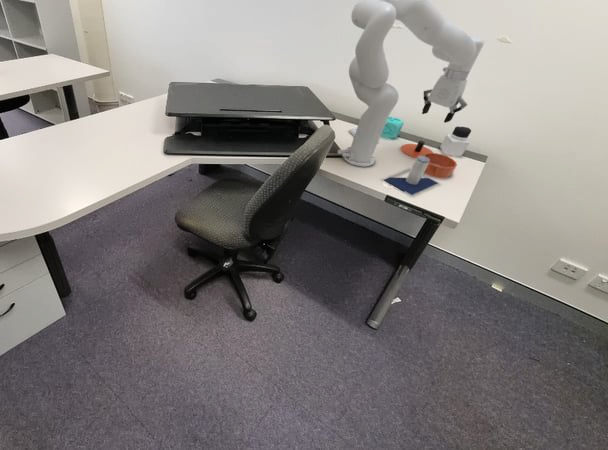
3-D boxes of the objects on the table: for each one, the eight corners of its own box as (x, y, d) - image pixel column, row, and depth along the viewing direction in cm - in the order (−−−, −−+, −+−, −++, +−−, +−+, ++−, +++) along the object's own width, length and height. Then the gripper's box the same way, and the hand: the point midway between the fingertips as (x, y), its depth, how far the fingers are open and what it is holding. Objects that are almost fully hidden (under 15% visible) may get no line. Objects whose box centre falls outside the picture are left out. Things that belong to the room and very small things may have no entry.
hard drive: (350, 128, 162) (362, 140, 153) (365, 128, 163) (378, 139, 154) (349, 131, 163) (361, 143, 154) (364, 131, 164) (377, 142, 155)
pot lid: (408, 160, 143) (414, 148, 139) (395, 145, 153) (400, 134, 149) (438, 160, 143) (445, 149, 139) (423, 146, 153) (429, 135, 149)
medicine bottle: (461, 157, 146) (476, 132, 138) (444, 155, 147) (458, 130, 139) (455, 149, 151) (469, 125, 143) (438, 148, 152) (452, 123, 144)
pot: (426, 178, 132) (432, 168, 129) (412, 162, 141) (417, 152, 138) (456, 179, 132) (463, 168, 129) (440, 163, 141) (446, 153, 138)
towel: (411, 195, 122) (411, 195, 122) (384, 180, 130) (384, 179, 130) (437, 183, 129) (438, 183, 129) (410, 169, 137) (410, 168, 136)
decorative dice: (393, 141, 156) (400, 125, 151) (376, 136, 160) (382, 120, 155) (398, 135, 161) (405, 119, 156) (381, 130, 165) (387, 115, 160)
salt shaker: (408, 184, 127) (420, 161, 121) (403, 178, 131) (414, 155, 124) (420, 184, 127) (433, 161, 121) (414, 178, 131) (426, 155, 124)
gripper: (428, 69, 129) (410, 111, 140) (473, 82, 117) (450, 127, 129) (440, 66, 131) (421, 108, 143) (485, 79, 120) (461, 123, 132)
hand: (435, 117), depth 136 cm, fingers open, 9 cm apart
